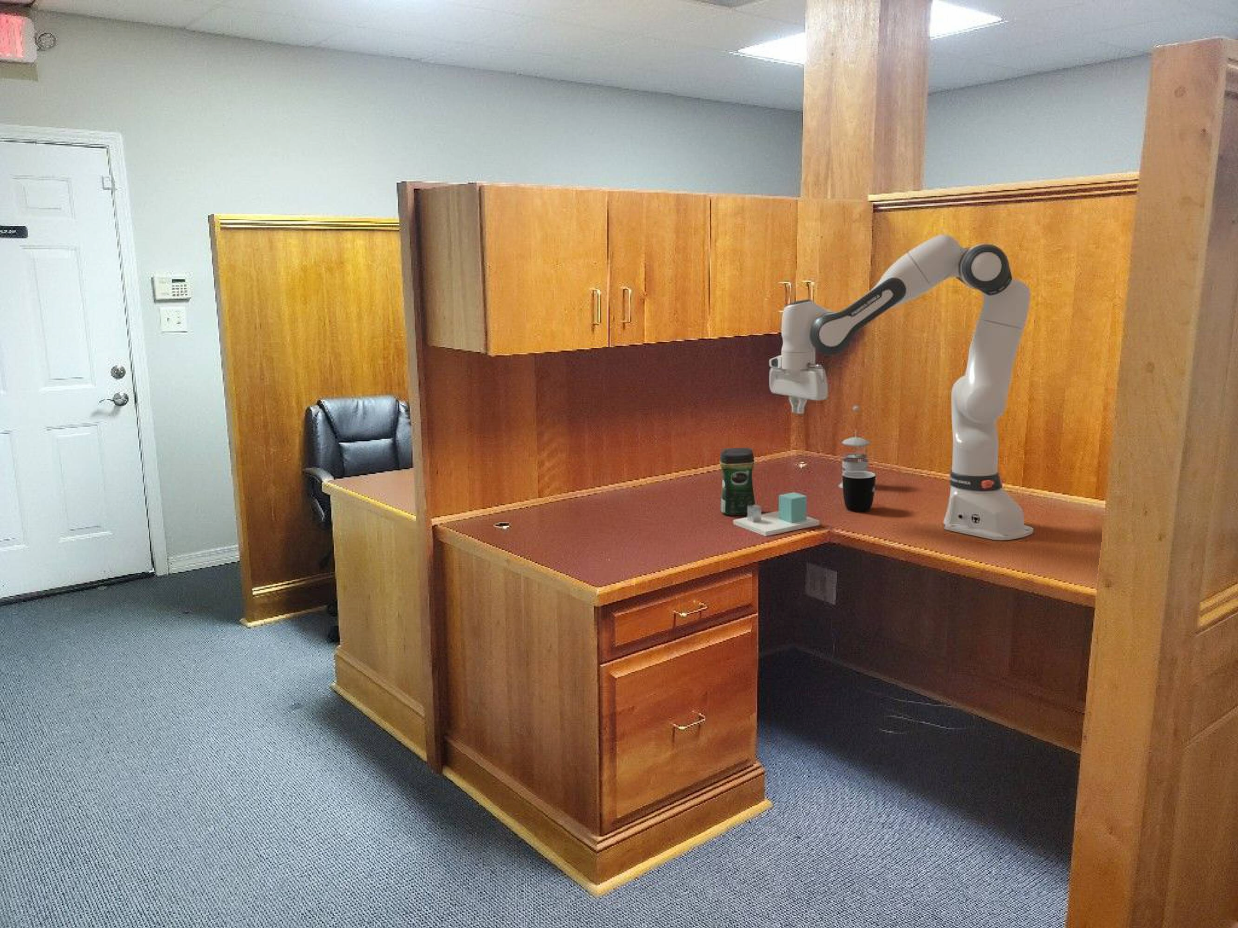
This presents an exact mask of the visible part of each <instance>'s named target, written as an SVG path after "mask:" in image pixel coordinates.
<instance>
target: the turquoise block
mask: <svg viewBox="0 0 1238 928" xmlns="http://www.w3.org/2000/svg"><path fill="white" fill-rule="evenodd" d="M807 497H808V496H807V495H804V494H801V493H799V492H798V493H797V492H794V491H793V492H789V493H784V494H779V495H778V511H779V519H781V520H783V521H786V522H789V523H795V522H800V521H804V520H807V517H808V516H807V515H808V514H807V513H808V512H807V511H808V510H807V509H808V508H807V505H808V504H807V503H808V502H807V501H808V498H807Z"/></svg>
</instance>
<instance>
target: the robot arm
mask: <svg viewBox="0 0 1238 928" xmlns="http://www.w3.org/2000/svg"><path fill="white" fill-rule="evenodd" d="M951 278H956V279H957V280H959V281H960V282H961V283H963V284H964V285H966V286H967V287H969V288H971V289H973V290H977V291H980V292H981V294H982V299H983V300H982V307H981V310H980V312H979V316H978V319H977V322H976V325H975V329H974V332H973V335H972V339H971V342H970V345H969V348H968V358H967V363H966V364H967V365H966V369H965V374H964V375H963V376H961V377H959V378H958V379H957V380H956V381H955V382H954V383H953V386H952V388H951V394H950V395H951V426H952V429H951V430H952V458H951V459H952V460H951V461H952V463H951V464H952V465H951V470H950V472H949V485H950V492H949V499H948V504H947V508H946V513H945V515H944V519H943V525H944V530H946V531H950V532H954V533H955V532H956V533H961V534H964V535H970V536H974V537H980V538H983V539H989V540H993V541H1011V540H1016V539H1021V538H1025V537H1028V536H1030V535H1032V534H1033V533H1034V528H1033V527H1032V526H1028V525H1026V524H1025V522H1024V521H1025V518H1024V512H1023V509H1022V507H1021V506H1020V505H1019V504H1018V503H1017V502H1016V501H1015V500H1014V499H1013V498H1012V497H1011V495H1009V494H1008V493H1007V492H1006V491H1005V489H1003V488H1004V487H1003V483H1007V481H1006V479H1007V478H1006V477H1003V478H1001V477H1000V473H999V472H998V465H999V463H998V462H999V461H998V460H999V437H998V429H997V428H998V427H997V420H999V419H1000V418H1001V416H1003V414H1004V412H1005V410H1006V407H1007V398H1008V395H1009V390H1010V385H1011V380H1012V374H1013V368H1014V363H1015V359H1016V355H1017V351H1018V348H1019V345H1020V343H1021V338H1022V335H1023V332H1024V329H1025V326H1026V323H1027V319H1028V314H1029V310H1030V302H1031V290H1030V288H1029V286H1028V285H1027V284H1026V283H1024V282H1023V281H1021V280H1020V279H1019V280H1018V279H1016V278H1013V275H1012V271H1011V267H1010V263H1009V259H1008V256H1007V254H1006V253H1005V252H1004V251H1003V249H1001V248H1000V247H999V246H997V245H994V244H988V243H982V244H981V243H980V244H977V245H974V246H970V247H963V246H962V245H961V244H960V243H959V241H957V239H956V238H954V237H952V236H951V235H948V234H945V233H943V234H939V235H936V236H933V237H931V238H929V239H928V240H925V241H924V242H922V243H919V245H917V246H915V247H914V248H912V249H910V250H909V251H908V252H906V253H904V254H903V255H902V256H900V257H899V258H898V259H897V260H896V261H894V263H892V264H891V265H890V266H889V268H887V269H886V270H885V272H884V273H883V274H882V276H881V278H880V279H879V281H878V282H877V283H876V284H875V286H874V287H872V289H870V290H869V291H868V292H867V293H865V295H864V294H863V296H861V297H860V298H859V299H857V300H856V301H855V302H853V303H851V304H850V305H848V307H846V308H844V309H842V310H840V311H838V312H837V311H834V310H831V309H828V308H826V307H824V306H821V305H819V304H818V303H816V302H814V301H813V300H812V299H810V298H807V299H801V300H796V301H793V302H790V303H788V304H787V305H785V307H784V309H783V311H782V316H781V337H782V346H781V352H780V353H781V355H777V356H775V357H773V358H770V359H769V360H768V363H769V364H768V365H769V367H770V370H769V378H768V379H769V382H768V383H769V390H770V392H771V393H772V394H775V395H777V394H778V395H782V396H788V401H789V403H790V406H791V412H792V413H793V414H797V415H798V414H799V415H801V414H804V413H805V406H806V404H807V402H808V400H812V401H823V400H826V399H827V397H828V395H829V394H828V392H829V389H828V387H829V386H828V379H827V375H826V374H827V373H826V370H825V368H824V367H823V366H822V364H819V363H817V364H816V351H817V352H819V353H820V354H823V355H827V356H828V355H830V356H831V355H832V356H833V355H836V354H839V353H841V352H842V351H843V350H845V349H846V348H847V347H848V345H849V343H850V342H851V340H852V338H854V336H855V334H856V333H857V332H859V330H861V329H863V328H864V327H865V326H867V325H868V324H870V322H872V321H874V320H875V319H876V318H878V317H879V316H880V315H882V314H884V313H885V312H887V311H890V310H891V309H893V308H895V307H897V306H900V305H902V304H903V305H904V304H905V303H908V302H910V301H912V300H914V299H917V298H918V297H920V296H922V295H924V294H926V293H927V292H929V291H930V290H932V289H933V288H935V287H936V286H937V285H939V284H941V283H943V281H946V280H947V279H951Z"/></svg>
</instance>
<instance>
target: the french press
mask: <svg viewBox="0 0 1238 928" xmlns="http://www.w3.org/2000/svg"><path fill="white" fill-rule="evenodd" d="M852 410H853V411H855V414H857V411H860V407H859V406H858V405H854V407H853V408H852ZM854 434H855V435H854V437H848V438H846V439H844V440H843V441H842V442H841V444H843V445H844V446H847V447H854V452H852V453H851V452H849V453H845V454H844V455H843V457H844V458H843V459H842V461H841V464H842V465H841V466H842V468H841V469H842V470H841V471H842V473H841V477H842V476H843V473H845V472H849V471H867V472H869V470H868V469H869V460H868V459H867V458H868V455H867V450H866V446H869V445H870V442H869V441H868V440H867V439H865V438H862V437H858V436H857V430H855V433H854ZM863 448H864V453H862V452H861V450H863ZM857 449H858V450H859V452H857ZM838 487H839V488H840V489H843V483H842V482H841V483H840V484H839V485H838Z"/></svg>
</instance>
